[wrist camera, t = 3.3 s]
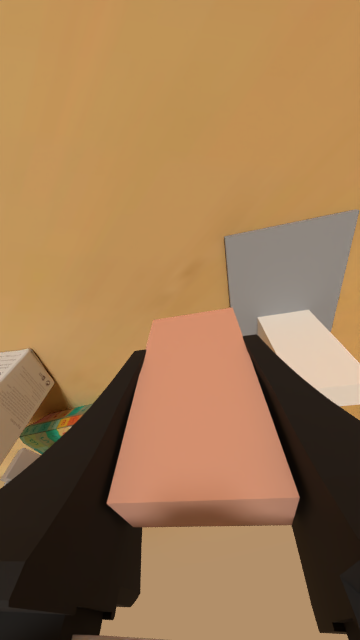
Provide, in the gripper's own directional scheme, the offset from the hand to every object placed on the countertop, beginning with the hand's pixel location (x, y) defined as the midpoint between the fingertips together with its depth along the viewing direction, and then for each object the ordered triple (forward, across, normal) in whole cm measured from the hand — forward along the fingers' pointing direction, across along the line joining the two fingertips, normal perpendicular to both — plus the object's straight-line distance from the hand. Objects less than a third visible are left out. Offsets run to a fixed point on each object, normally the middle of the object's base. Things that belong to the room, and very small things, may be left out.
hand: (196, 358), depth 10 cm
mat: (+9, -7, +10) cm, 16 cm away
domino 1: (+2, 0, 0) cm, 2 cm away
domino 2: (+9, -7, +6) cm, 13 cm away
